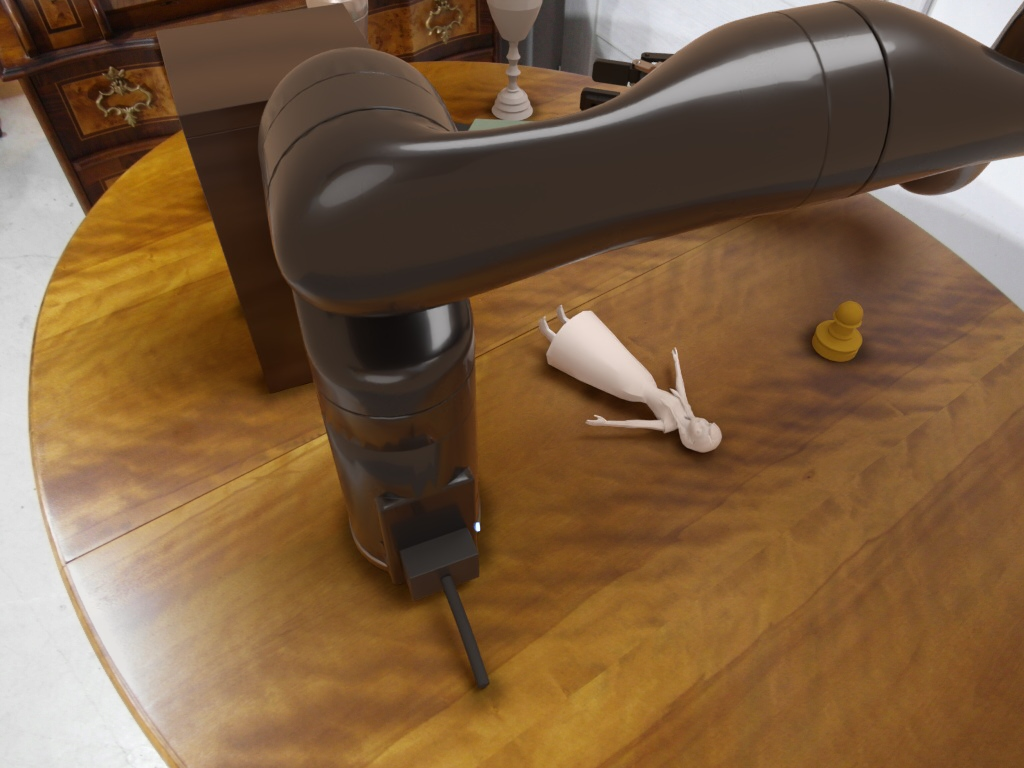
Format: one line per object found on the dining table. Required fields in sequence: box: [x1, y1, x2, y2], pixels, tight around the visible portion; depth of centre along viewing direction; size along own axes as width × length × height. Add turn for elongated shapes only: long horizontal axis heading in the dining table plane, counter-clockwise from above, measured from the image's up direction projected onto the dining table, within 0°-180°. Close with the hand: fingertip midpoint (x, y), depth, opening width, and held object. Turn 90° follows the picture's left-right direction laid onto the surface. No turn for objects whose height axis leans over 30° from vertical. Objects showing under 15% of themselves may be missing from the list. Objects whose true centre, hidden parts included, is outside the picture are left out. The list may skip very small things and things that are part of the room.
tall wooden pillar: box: [155, 3, 373, 394], centre depth 60 cm, size 12×13×25 cm
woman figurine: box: [538, 304, 723, 453], centre depth 64 cm, size 12×4×18 cm
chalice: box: [486, 0, 544, 121], centre depth 88 cm, size 7×7×18 cm
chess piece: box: [811, 300, 864, 363], centre depth 67 cm, size 4×4×5 cm
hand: (587, 83), depth 77 cm, fingers open, 5 cm apart
